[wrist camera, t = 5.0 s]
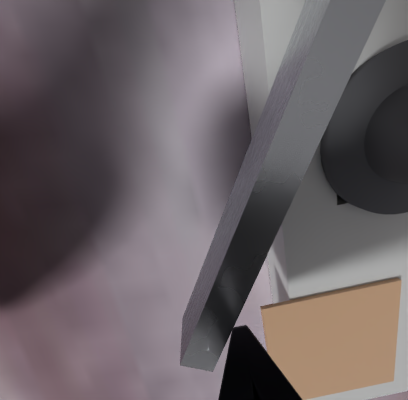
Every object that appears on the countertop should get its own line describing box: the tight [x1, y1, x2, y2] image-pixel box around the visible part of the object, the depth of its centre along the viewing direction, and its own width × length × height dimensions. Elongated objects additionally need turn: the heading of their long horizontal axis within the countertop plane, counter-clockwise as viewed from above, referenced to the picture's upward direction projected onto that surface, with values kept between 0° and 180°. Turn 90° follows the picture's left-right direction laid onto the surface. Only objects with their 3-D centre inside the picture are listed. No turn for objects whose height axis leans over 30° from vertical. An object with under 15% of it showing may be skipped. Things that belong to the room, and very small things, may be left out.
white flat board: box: [234, 0, 408, 400], centre depth 10 cm, size 12×26×3 cm, turn 11°
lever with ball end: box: [180, 0, 386, 372], centre depth 7 cm, size 2×14×3 cm, turn 160°
